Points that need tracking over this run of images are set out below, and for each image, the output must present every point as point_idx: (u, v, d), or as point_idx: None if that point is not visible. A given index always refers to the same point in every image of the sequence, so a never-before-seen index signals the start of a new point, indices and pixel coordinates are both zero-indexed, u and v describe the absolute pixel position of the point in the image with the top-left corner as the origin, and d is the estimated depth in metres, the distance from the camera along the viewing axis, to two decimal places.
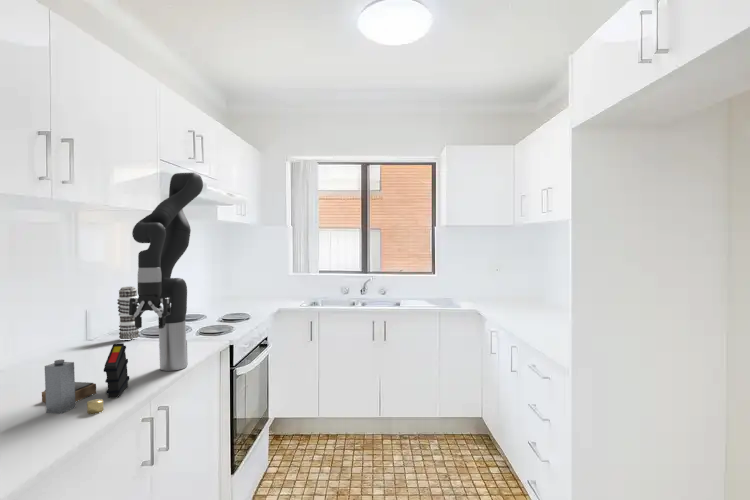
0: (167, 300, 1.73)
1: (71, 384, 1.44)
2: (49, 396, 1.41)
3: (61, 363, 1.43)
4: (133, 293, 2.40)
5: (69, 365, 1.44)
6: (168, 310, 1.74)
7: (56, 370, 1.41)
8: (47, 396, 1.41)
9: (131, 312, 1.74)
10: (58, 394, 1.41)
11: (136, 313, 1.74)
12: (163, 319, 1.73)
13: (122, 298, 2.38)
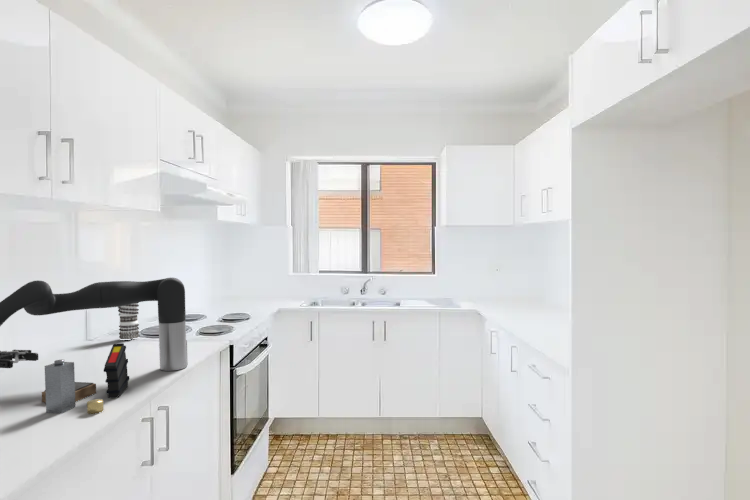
0: None
1: (71, 384, 1.44)
2: (49, 396, 1.41)
3: (61, 363, 1.43)
4: None
5: (69, 365, 1.43)
6: None
7: (56, 370, 1.41)
8: (47, 396, 1.41)
9: None
10: (58, 394, 1.41)
11: None
12: None
13: None
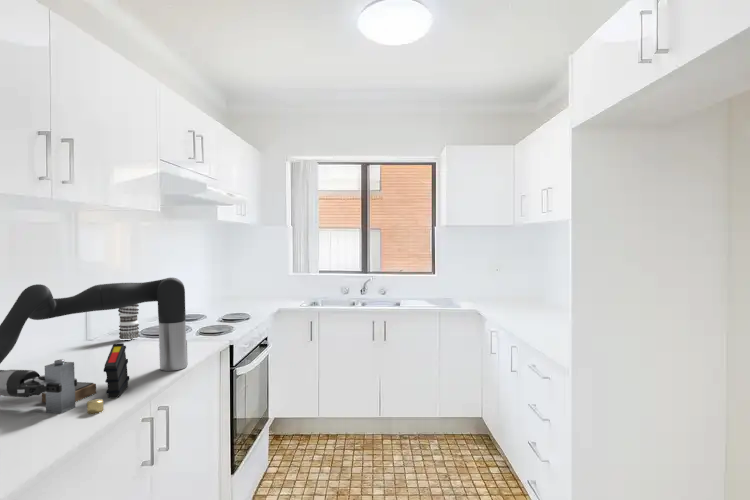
0: None
1: (71, 384, 1.44)
2: (49, 396, 1.41)
3: (61, 363, 1.43)
4: None
5: (69, 365, 1.44)
6: None
7: (56, 370, 1.41)
8: (47, 396, 1.41)
9: None
10: (58, 394, 1.41)
11: (43, 383, 1.41)
12: None
13: None
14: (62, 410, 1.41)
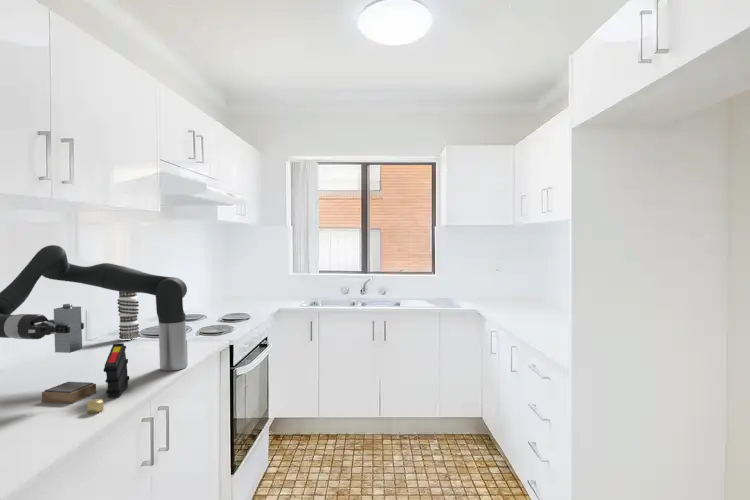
0: None
1: (78, 326, 1.54)
2: (58, 337, 1.51)
3: (69, 306, 1.52)
4: (133, 293, 2.40)
5: (76, 309, 1.53)
6: None
7: (65, 312, 1.50)
8: (56, 337, 1.51)
9: (47, 326, 1.49)
10: (67, 335, 1.50)
11: (52, 325, 1.50)
12: None
13: (122, 298, 2.38)
14: (70, 350, 1.51)
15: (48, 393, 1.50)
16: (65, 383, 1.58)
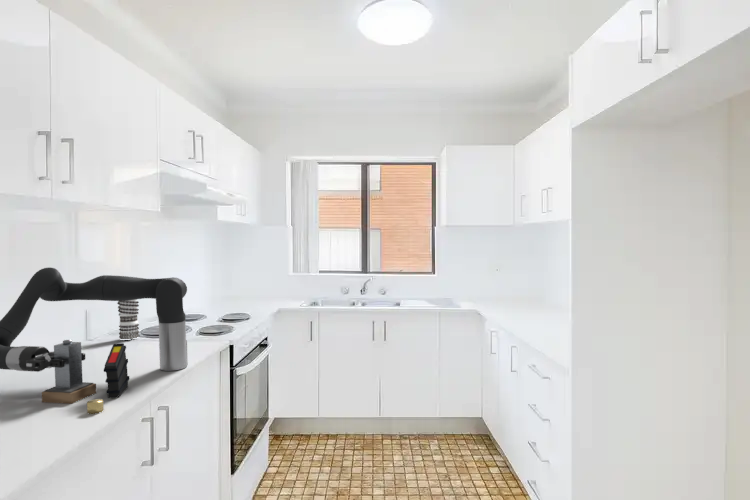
0: None
1: (78, 362, 1.55)
2: (58, 373, 1.52)
3: (69, 343, 1.53)
4: None
5: (76, 345, 1.54)
6: None
7: (65, 349, 1.51)
8: (56, 373, 1.52)
9: None
10: (67, 371, 1.52)
11: (48, 359, 1.51)
12: None
13: None
14: (70, 386, 1.52)
15: (48, 393, 1.50)
16: None
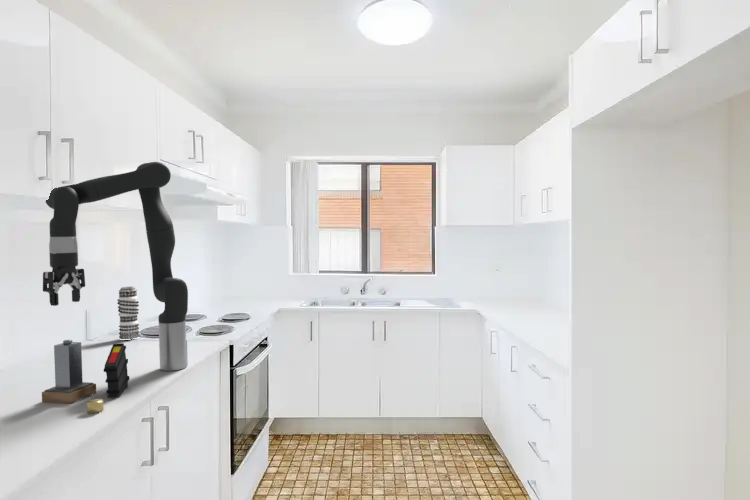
0: None
1: (79, 362, 1.55)
2: (58, 373, 1.52)
3: (69, 343, 1.53)
4: (133, 293, 2.40)
5: (76, 345, 1.54)
6: (78, 282, 1.65)
7: (65, 349, 1.51)
8: (56, 374, 1.52)
9: (52, 288, 1.52)
10: (67, 372, 1.52)
11: (57, 288, 1.54)
12: None
13: (122, 298, 2.38)
14: (70, 386, 1.52)
15: (48, 393, 1.50)
16: None
